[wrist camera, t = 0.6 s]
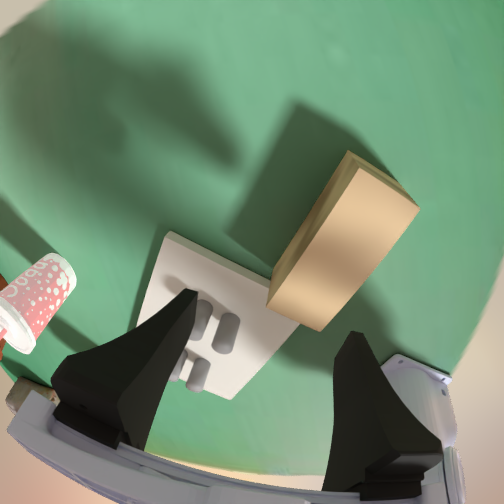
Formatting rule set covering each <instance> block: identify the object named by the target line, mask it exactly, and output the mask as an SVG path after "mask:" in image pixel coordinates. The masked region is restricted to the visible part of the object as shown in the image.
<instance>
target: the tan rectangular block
mask: <svg viewBox="0 0 504 504" xmlns="http://www.w3.org/2000/svg"><path fill="white" fill-rule="evenodd" d="M419 210H420V208H419V206H418V205H417V204H416V203H415V201H414V200H413V199H412V198H411V197H410V195H409V194H408V193H407V192H406V191H405V189H404V188H403V187H402V186H401V185H400V184H399V183H398V182H397V181H395V180H394V179H393V178H391V177H390V176H388V175H387V174H385V173H384V172H382V171H381V170H379V169H378V168H376V167H375V166H373V165H371V164H370V163H368V162H367V161H365V160H364V159H362V158H360V157H359V156H357V155H356V154H354V153H352V152H351V151H349V150H348V151H347V152H346V154H345V155H344V157H343V159H342V160H341V162H340V164H339V165H338V167H337V169H336V170H335V172H334V173H333V175H332V177H331V178H330V180H329V182H328V183H327V185H326V186H325V188H324V190H323V191H322V193H321V194H320V196H319V198H318V199H317V201H316V202H315V204H314V206H313V207H312V209H311V210H310V212H309V214H308V215H307V217H306V218H305V220H304V221H303V223H302V225H301V226H300V228H299V229H298V231H297V232H296V234H295V236H294V237H293V239H292V240H291V242H290V243H289V245H288V247H287V248H286V250H285V251H284V253H283V254H282V256H281V257H280V259H279V260H278V262H277V264H276V265H275V267H274V268H273V272H272V277H271V282H270V287H269V292H268V298H267V303H266V308H268V309H270V310H272V311H274V312H276V313H279V314H281V315H283V316H285V317H287V318H289V319H292V320H294V321H296V322H298V323H300V324H303V325H305V326H307V327H309V328H312V329H314V330H316V331H318V332H321V331H322V329H323V328H324V327H325V326H326V325H327V324H328V323H329V322H330V321H331V320H332V319H333V317H334V316H335V315H336V314H337V313H338V312H339V311H340V310H341V308H342V307H343V306H344V305H345V304H346V303H347V302H348V300H349V299H350V298H351V297H352V296H353V295H354V293H355V292H356V291H357V290H358V289H359V288H360V286H361V285H362V284H363V283H364V282H365V280H366V279H367V278H368V277H369V276H370V274H371V273H372V272H373V271H374V269H375V268H376V267H377V266H378V264H379V263H380V262H381V261H382V259H383V258H384V257H385V256H386V254H387V253H388V252H389V251H390V249H391V248H392V247H393V245H394V244H395V243H396V241H397V240H398V239H399V238H400V236H401V235H402V234H403V232H404V231H405V230H406V228H407V227H408V225H409V224H410V223H411V221H412V220H413V219H414V217H415V216H416V215H417V213H418V212H419Z"/></svg>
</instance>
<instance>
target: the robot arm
mask: <svg viewBox="0 0 504 504" xmlns="http://www.w3.org/2000/svg"><path fill="white" fill-rule="evenodd" d="M197 300H198V291H194V290H191V289H187V288H185V289H183V290H182V291H181V292H180V293H179V294H178V295H177V296H176V297H175V298H173V299H172V300H171V301H170V302H169V303H168V304H167V305H165V306H164V307H163V308H162V309H160V310H159V311H158V312H157V313H156V314H154V315H153V316H151V317H150V318H149V319H147V320H146V321H145V322H143V323H142V324H140V325H139V326H137V327H136V328H134V329H132V330H131V331H129V332H127V333H125V334H124V335H122V336H120V337H118V338H116V339H114V340H112V341H110V342H107V343H105V344H103V345H100V346H98V347H95V348H92V349H90V350H87V351H83V352H80V353H76V354H73V355H69V356H67V357H66V358H65V359H64V360H63V361H62V362H61V364H60V365H59V366H58V368H57V369H56V371H55V372H54V374H53V375H52V377H51V384H52V387H53V389H54V390H55V392H56V394H57V396H58V398H59V399H60V402H59V404H58V405H57V406H56V404H54V403H53V402H52V401H50V400H49V399H47V398H46V397H44V396H42V395H41V394H39V393H37V392H36V391H34V390H31V392H30V393H29V395H28V396H27V398H26V399H25V401H24V402H23V404H22V405H21V407H20V409H19V410H18V412H17V413H16V415H15V417H14V418H13V420H12V421H11V423H10V425H9V426H8V428H7V432H8V433H9V434H10V435H11V436H12V437H13V438H14V439H15V440H16V441H17V442H18V443H19V444H20V445H21V446H22V447H24V448H25V449H26V450H27V451H28V452H29V453H31V454H32V455H34V456H35V457H36V458H38V459H40V460H41V461H43V462H44V463H46V464H47V465H49V466H51V467H52V468H54V469H55V470H57V471H59V472H60V473H62V474H63V475H65V476H67V477H69V478H70V479H72V480H74V481H76V482H77V483H79V484H81V485H83V486H85V487H87V488H88V489H90V490H92V491H94V492H96V493H98V494H100V495H102V496H104V497H106V498H108V499H110V500H112V501H114V502H117V503H119V504H466V502H465V500H466V489H465V480H464V473H463V467H462V463H461V459H460V455H459V452H458V450H457V449H455V448H453V445H454V443H455V440H456V436H457V424H456V420H455V415H454V411H453V407H452V403H451V399H450V395H449V392H448V388H447V385H448V384H449V383H450V382H451V381H452V377H451V376H449V375H447V374H445V373H442V372H440V371H438V370H435V369H433V368H430V367H428V366H426V365H423V364H421V363H419V362H416V361H414V360H412V359H409V358H407V357H405V356H403V355H400V354H396V355H394V356H392V357H391V358H390V359H389V360H388V361H387V362H386V363H384V364H383V365H382V366H381V367H380V365H379V363H378V362H377V360H376V358H375V356H374V354H373V352H372V350H371V348H370V346H369V344H368V342H367V340H366V338H365V336H364V334H363V333H360V332H355V331H351V332H350V334H349V335H348V337H347V339H346V340H345V342H344V344H343V345H342V347H341V349H340V350H339V352H338V354H337V355H336V357H335V361H334V371H333V397H334V426H333V435H332V443H331V449H330V455H329V461H328V466H327V470H326V475H325V479H324V483H323V487H322V490H321V491H314V490H302V489H294V488H286V487H279V486H271V485H266V484H260V483H254V482H249V481H244V480H239V479H235V478H230V477H225V476H221V475H217V474H213V473H210V472H206V471H202V470H198V469H195V468H191V467H188V466H185V465H181V464H178V463H175V462H172V461H169V460H166V459H163V458H160V457H158V456H155V455H152V454H149V453H147V452H144V448H145V445H146V442H147V438H148V435H149V432H150V429H151V426H152V423H153V420H154V417H155V414H156V411H157V408H158V405H159V402H160V400H161V397H162V394H163V392H164V389H165V386H166V384H167V382H168V379H169V377H170V375H171V373H172V371H173V369H174V368H175V366H176V364H177V362H178V360H179V358H180V356H181V354H182V352H183V350H184V348H185V346H186V344H187V342H188V340H189V337H190V335H191V332H192V329H193V326H194V324H195V316H196V308H197Z"/></svg>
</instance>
